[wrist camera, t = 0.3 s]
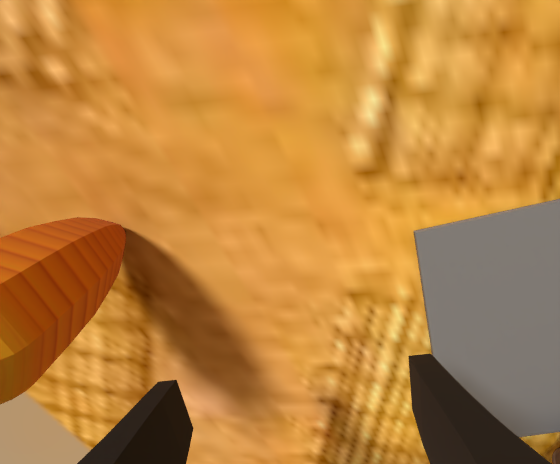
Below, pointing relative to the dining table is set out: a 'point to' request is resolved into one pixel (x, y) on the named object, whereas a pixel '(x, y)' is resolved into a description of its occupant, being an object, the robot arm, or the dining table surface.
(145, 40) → the dining table surface
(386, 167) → the dining table surface
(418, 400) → the robot arm
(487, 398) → the mat
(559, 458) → the tin
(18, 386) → the carrot
